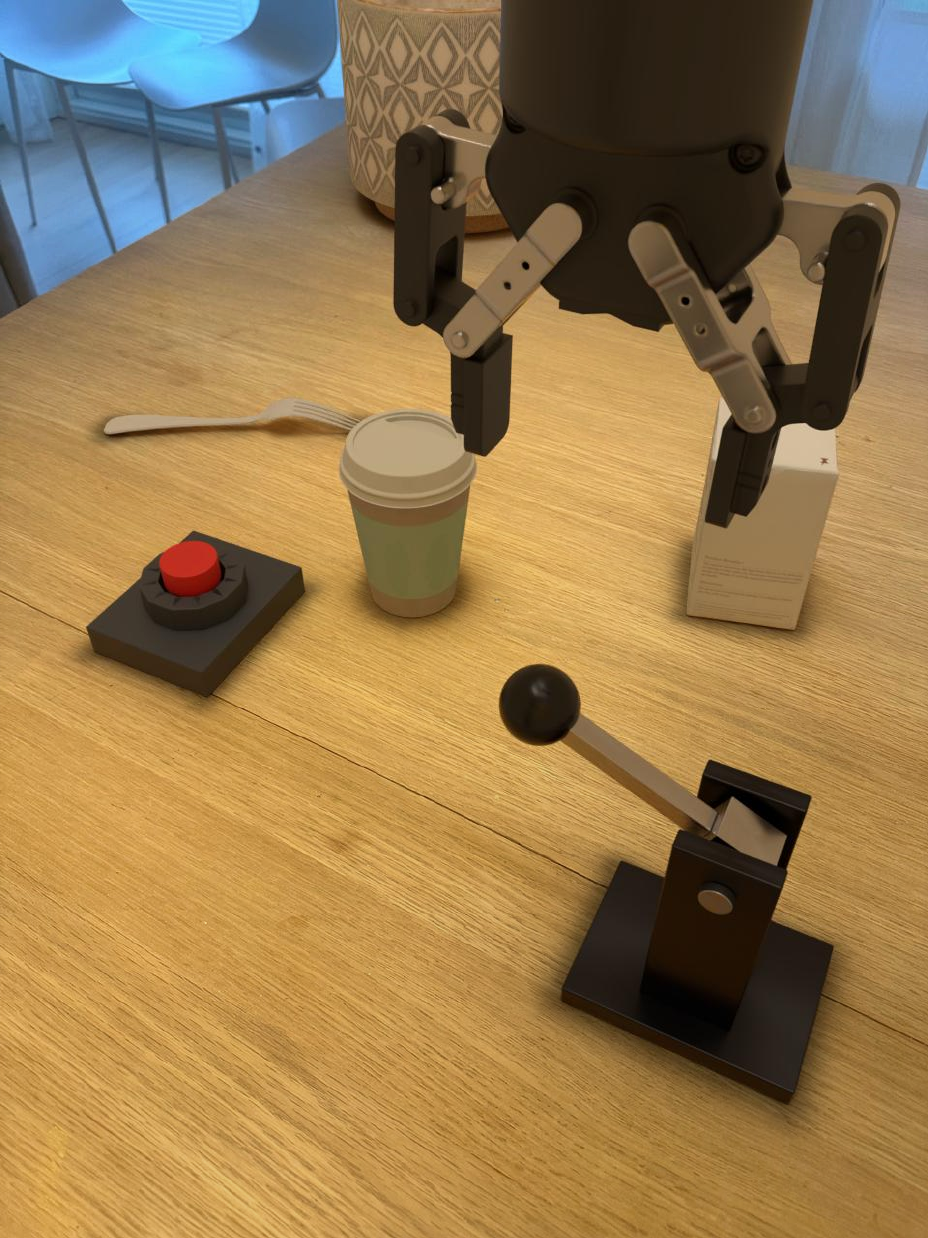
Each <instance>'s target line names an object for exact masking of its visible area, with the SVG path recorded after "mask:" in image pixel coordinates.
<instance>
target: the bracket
mask: <svg viewBox="0 0 928 1238" xmlns="http://www.w3.org/2000/svg"><path fill="white" fill-rule="evenodd" d="M696 797H698V798H699V799H700V800H702V801H703V802H705V803H706V804H707V805H709V806H710V807H711V808H713V809H715V808H716V807H718V806H719V805H721V804H722V803H723V802H725V801H726V800H728V799H729V798H730V797H734V798H736V799H737V800H738V801H740V802H741V803H742V804H744V805H745V806H747V807H748V808H749V809H751V810H752V811H754V812H755V813H756V814H758V815H759V816H760V817H762V818H763V819H765V820H766V821H767V822H769V823H770V824H772V825H773V826H774V827H776V828H777V829H779V830H780V831H781V832H783V833H784V834H785V835H787V837H786V840H785V843H784V846H783V849H782V852H781V855H780V858H779V861H778V864H777V866H776V865H773V864H771V863H768V862H765V861H763V860H760V859H757V858H755V857H752V856H750V855H747V854H744V853H742V852H739V851H737V850H734V849H731V848H729V847H726V846H724V845H721V844H718V843H716V842H713V841H711V840H708V839H705V838H703V837H700V836H698V835H695V834H692V833H690V832H687V831H685V830H683V829H682V828H679V829H678V830H677V832H676V835H675V837H674V839H673V841H672V845H671V848H670V852H669V857H668V860H667V865H666V870H665V874H664V876H662V875H660V874H657V873H655V872H652V871H650V870H648V869H645V868H642V867H640V866H637V865H635V864H633V863H630V862H628V861H626V860H623V859H621V860H620V861H619V862H618V865H617V867H616V869H615V871H614V873H613V876H612V877H611V879H610V882H609V885H608V887H607V889H606V890H605V893H604V895H603V897H602V899H601V901H600V904H599V906H598V908H597V910H596V912H595V915H594V917H593V919H592V921H591V923H590V926H589V928H588V929H587V931H586V934H585V936H584V939H583V941H582V943H581V945H580V947H579V949H578V952H577V954H576V956H575V957H574V960H573V962H572V965H571V966H570V969H569V971H568V973H567V975H566V978H565V979H564V981H563V984H562V986H561V990H560V991H561V992H560V1001H561V1002H564V1003H566V1004H568V1005H570V1006H572V1007H574V1008H576V1009H578V1010H581V1011H582V1012H585V1013H587V1014H589V1015H592V1016H594V1017H596V1018H598V1019H600V1020H602V1021H605V1022H607V1023H609V1024H611V1025H612V1026H613V1025H614V1026H616V1027H618V1028H619V1029H622V1030H624V1031H627V1032H629V1033H631V1034H633V1035H636V1036H638V1037H640V1038H642V1039H644V1040H646V1041H649V1042H650V1043H652V1044H655V1045H657V1046H660V1047H662V1048H664V1049H666V1050H668V1051H670V1052H673V1053H675V1054H677V1055H679V1056H681V1057H683V1058H686V1059H688V1060H690V1061H692V1062H694V1063H696V1064H699V1065H701V1066H704V1067H705V1068H708V1069H710V1070H712V1071H714V1072H716V1073H719V1074H721V1075H722V1076H725V1077H727V1078H730V1079H732V1080H734V1081H735V1082H738V1083H740V1084H743V1085H745V1086H747V1087H749V1088H751V1089H753V1090H755V1091H758V1092H760V1093H761V1094H764V1095H766V1096H769V1097H771V1098H773V1099H775V1100H777V1101H780V1102H782V1103H783V1104H786V1105H790V1104H791V1102H792V1100H793V1098H794V1096H795V1095H796V1090H797V1087H798V1083H799V1080H800V1077H801V1073H802V1068H803V1064H804V1061H805V1057H806V1053H807V1050H808V1046H809V1042H810V1039H811V1035H812V1031H813V1027H814V1023H815V1019H816V1016H817V1012H818V1008H819V1006H820V1005H819V1004H820V1001H821V997H822V993H823V990H824V986H825V983H826V980H827V979H826V978H827V974H828V972H829V968H830V965H831V959H832V957H833V952H834V948H835V945H833V944H831V943H829V942H827V941H825V940H821V939H819V938H816V937H814V936H811V935H809V934H807V933H805V932H802V931H800V930H797V929H794V928H792V927H790V926H787V925H784V924H782V923H779V922H777V921H774V920H772V919H773V916H774V914H775V912H776V908H777V905H778V903H779V900H780V897H781V895H782V892H783V889H784V886H785V884H786V880H787V877H788V873H789V871H788V870H787V869H788V868H789V867H788V866H789V864H790V861H791V858H792V856H793V853H794V851H795V847H796V845H797V842H798V838H799V836H800V833H801V831H802V828H803V826H804V824H805V820H806V817H807V815H808V812H809V808H810V805H811V802H812V799H813V797H812V795H811V794H808V793H805V792H803V791H800V790H797V789H794V788H791V787H788V786H786V785H783V784H780V783H777V782H775V781H772V780H769V779H767V778H764V777H761V776H758V775H755V774H753V773H750V772H747V771H745V770H741V769H738V768H735V767H733V766H730V765H727V764H724V763H722V762H719V761H716V760H714V759H708V760H707V762H706V764H705V766H704V769H703V772H702V774H701V778H700V781H699V786H698V790H697V793H696Z"/></svg>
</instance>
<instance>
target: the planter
mask: <svg viewBox="0 0 928 1238" xmlns="http://www.w3.org/2000/svg"><path fill="white" fill-rule="evenodd" d="M336 7H337V21H338V32H339V33H338V34H339V46H340V58H341V59H340V60H341V73H342V75H341V76H342V85H343V86H342V87H343V98H344V99H343V100H344V101H343V102H344V113H345V126H346V127H345V129H346V140H347V153H348V154H347V155H348V165H349V177H350V181H351V184H352V185H353V187H354V188H355V189H356V190H357V191H358V192H359V193H360V194H362V195H363V196H364V197H365V198H368V199H369V200H371V201H372V202H374V204H375V207H376V208H377V209H378V211H379V212H380V213H381V214H382V215H383V216H385V217H386V218H387V219H389V220H391V221H393V222H394V214H395V148H396V143H397V141H398V139H399V138H400V137H401V136H402V135H403V134H405V133H406V132H408V131H410V130H411V129H413V128H415V127H417V126H418V125H420V124H422V123H423V122H425V121H427V120H428V119H430V118H432V117H433V116H435V115H437V114H438V113H440V112H442V111H444V110H446V109H455V110H458V111H459V112H461V113H462V114H463V115H464V116H465V117H466V119H467V121H468V123H469V126H470V129H473V130H477V131H481V132H485V133H489V134H493V135H498V133H499V130H500V127H501V123H502V117H503V110H502V103H501V99H500V94H499V68H500V29H501V0H336ZM505 229H510V228H509V226H508V225H507V223H506V221H505V219H504V217H503V216H502V214H501V212H500V210H499V208H498V207H497V205H496V203H495V201H494V199H493V197H492V196H491V194H490V192H489V189H488V187H487V183H486V179H485V178H482V181H481V185H480V189H479V191H478V193H477V194H476V195H475V196H473V197H472V198H471V199H469V200H468V201H467V203H466V220H465V234H477V233H489V232H495V231H501V230H505Z"/></svg>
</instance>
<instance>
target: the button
mask: <svg viewBox="0 0 928 1238" xmlns="http://www.w3.org/2000/svg"><path fill="white" fill-rule="evenodd" d="M163 552H164V553H163V554H162V556H161V558H160V561H159V566H160V570H161V573H162V577H163V581H164V585H165V587H166V589H167V590H168V591H169V592H170V593H171V594H173V595H175V596H179V597H196V596H199V595H202V594H204V593H207V592H209V591H212V590H213V589H214V588H215V587H216V586H217V585H218V584H219V582H220V580H221V570H220V565H219V560H218V555H217V552H216V550H215V549H214V548H213V547H212V546H211V545H209V544H207V543H205V542H200V541H187V542H182V543H180V542H178V543H176V544H174V545H171V546H170V547H168V548H167V549H166V550H165V551H163Z"/></svg>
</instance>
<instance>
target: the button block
mask: <svg viewBox="0 0 928 1238" xmlns="http://www.w3.org/2000/svg"><path fill="white" fill-rule="evenodd" d="M187 541H200V542H205V543H207V544H209V545H211V546H212V547H213V548H214V549H215V550H216V552H217V555H218V560H219V565H220V570H221V580H220V582H219V584H218V585H217V586H216V587H215V588H214V589H213V590H212V591H209V592H207V593H204V594H202V595H199V596H196V597H179V596H175V595H173V594H171V593H170V592H169V591H168V590H167V589H166V587H165V585H164V581H163V577H162V573H161V570H160V566H159V561H160V558H161V556H162V554H163V553H164V552H165V551H162V552H161V553H159V554H158V555H156V556H155V557H154V558H153V559H152V560H151V561H150V562H149V563H147V564H146V565H145V566H144V567H143V568H142V572H141V576H140V578H138V579H137V580H136V581H135V582H134V583H133V584H131V586H130V587H129V588H127V589H126V590H125V591H124V592H123V593H122V594H121V595H120V596H119V597H117V598H116V599H115V600H114V601H113V602H111V604H109V605H108V606H107V607H106V608H105V609H104V610H103V611H102V612H100V614H99V615H97V616H96V617H95V618H93V620H92V621H91V622H90V623H88V625H86V627H85V629H86V632H87V635H88V638H89V641H90V643H91V646H92V649H93V652H94V653H97V654H100V655H102V656H104V657H107V658H109V659H112V660H114V661H115V662H116V661H117V662H118V663H119V662H120V663H121V664H124V665H126V666H129V667H131V668H134V669H136V670H139V671H142V672H144V673H146V674H149V675H151V676H154V677H156V678H159V679H161V680H164V681H167V682H169V683H171V684H174V685H176V686H179V687H180V688H184V689H186V690H188V691H192V692H193V693H196V694H198V695H201V696H204V697H206V698H208V697H210V696H211V694H212V693H214V691H215V690H216V689H217V688H218V687H219V686H220V684H221V683H223V681H225V679H226V678H227V677H228V676H229V675H230V674H231V672H233V671H234V669H235V668H236V667H237V666H238V665H239V664H240V663H241V662H242V661H243V659H245V658H246V656H247V655H248V654H249V653H250V652H251V651H252V650H253V649H254V647H256V645H257V644H259V642H260V641H261V640H262V639H263V638H264V637H265V635H267V634H268V632H270V631H271V629H273V627H274V626H275V625H276V624H277V623H278V622H279V620H281V618H282V617H284V615H285V614H286V613H287V612H288V611H289V610H290V609H291V607H292V606H293V605H295V604H296V602H297V601H298V600H299V599H300V598H301V597H302V596H303V595H304V594H305V593H306V587H305V581H304V574H303V573H304V572H303V568H302V566H299V565H297V564H293V563H290V562H288V561H285V560H282V559H278V558H276V557H273V556H270V555H267V554H264V553H261V552H259V551H255V550H252V549H251V548H246V547H244V546H241V545H238V544H235V543H232V542H229V541H226V540H223V539H220V538H217V537H215V536H212V535H209V534H205V533H203V532H199V531H197V530H192V531H190V533H188V534H187V535H186V536H185V537H184V538H183V539H182V540H181V541H180V542H179V543H182V542H187Z"/></svg>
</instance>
